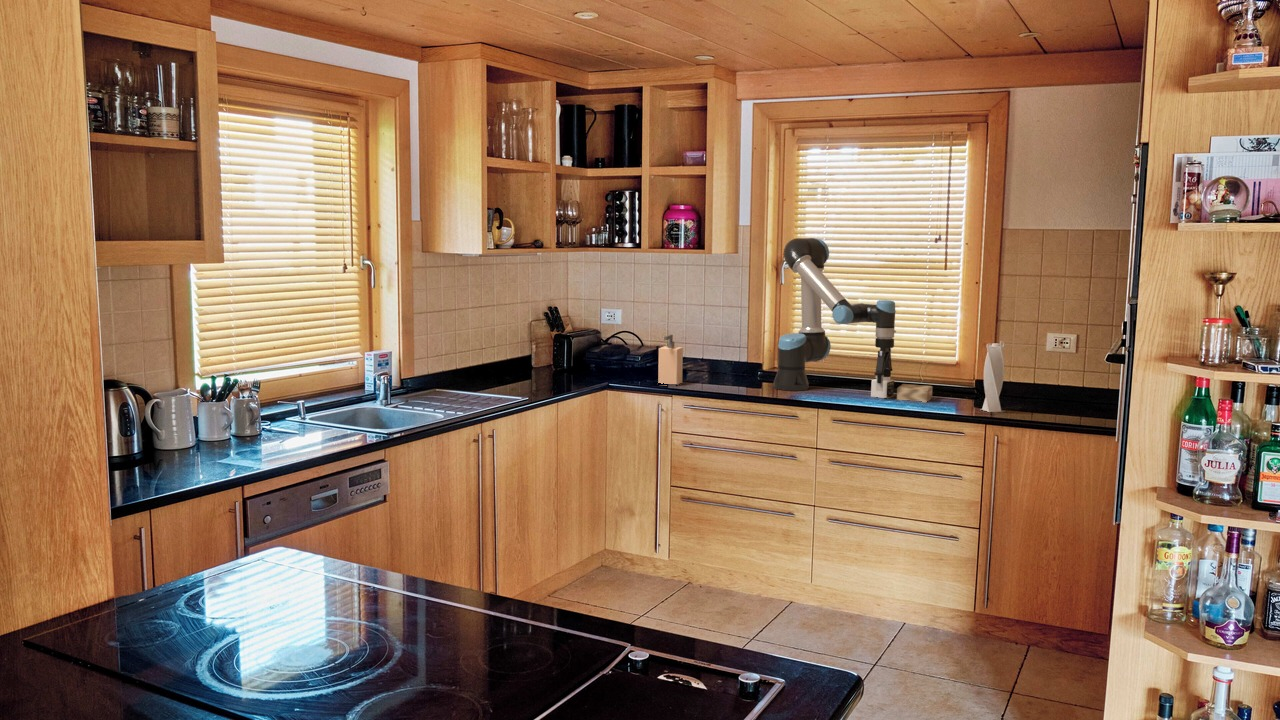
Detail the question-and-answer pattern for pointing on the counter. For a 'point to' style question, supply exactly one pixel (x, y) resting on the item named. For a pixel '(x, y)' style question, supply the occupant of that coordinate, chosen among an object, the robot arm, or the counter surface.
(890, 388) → the medicine bottle
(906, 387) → the base block
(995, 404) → the skyscraper
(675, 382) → the soap dispenser
